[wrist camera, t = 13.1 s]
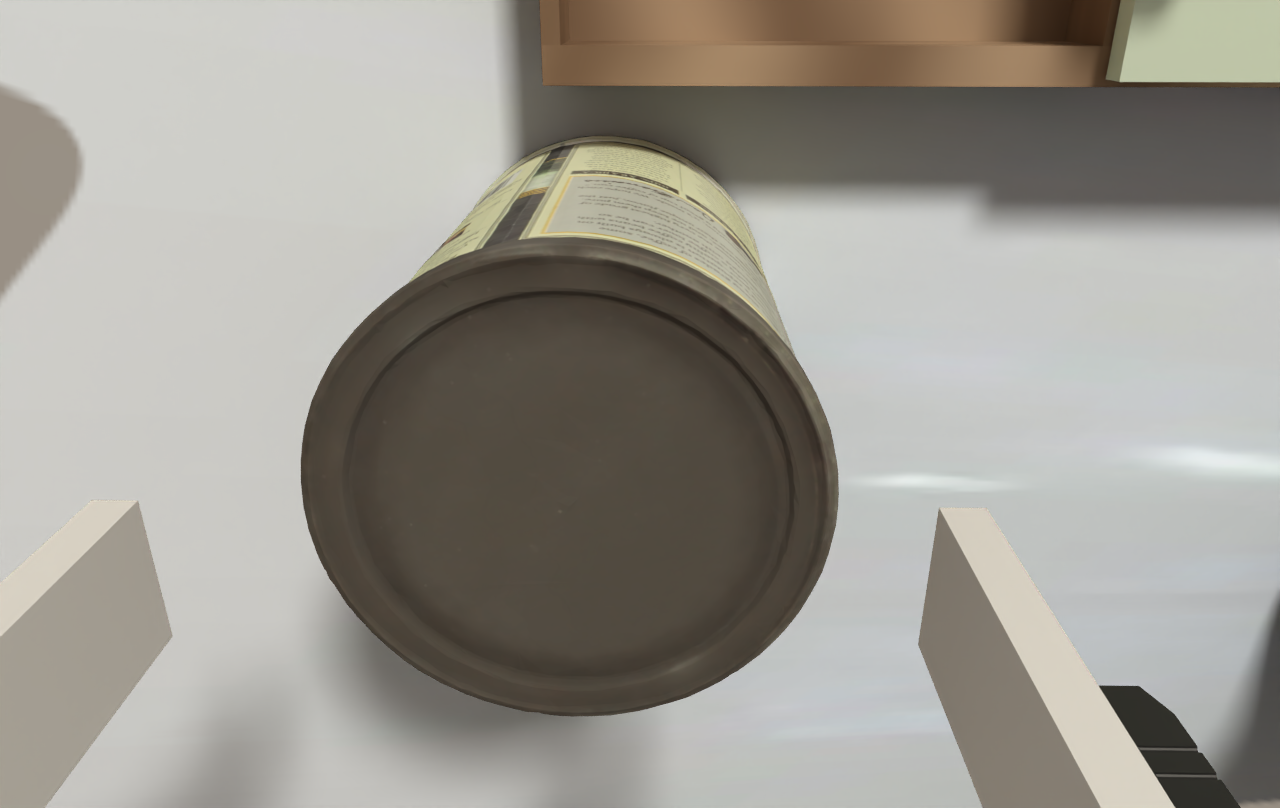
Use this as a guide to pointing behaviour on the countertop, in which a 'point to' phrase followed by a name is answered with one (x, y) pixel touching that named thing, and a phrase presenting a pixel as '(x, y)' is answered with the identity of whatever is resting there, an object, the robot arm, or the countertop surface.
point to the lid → (1196, 41)
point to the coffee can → (576, 444)
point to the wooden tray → (834, 43)
